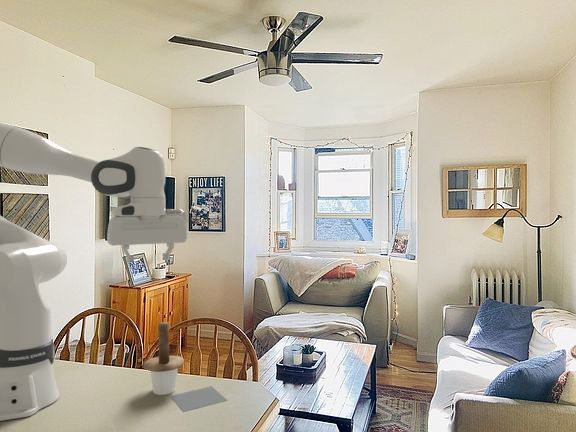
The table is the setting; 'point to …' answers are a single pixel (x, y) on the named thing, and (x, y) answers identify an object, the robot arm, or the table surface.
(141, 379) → the table surface
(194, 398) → the mat
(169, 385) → the white cup
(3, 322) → the robot arm
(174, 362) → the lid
